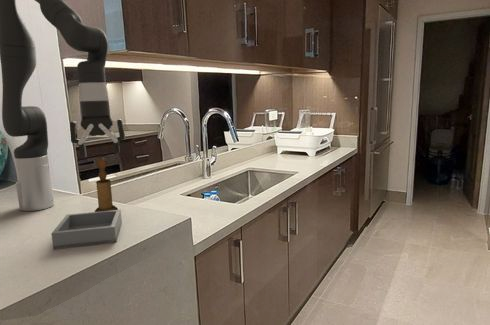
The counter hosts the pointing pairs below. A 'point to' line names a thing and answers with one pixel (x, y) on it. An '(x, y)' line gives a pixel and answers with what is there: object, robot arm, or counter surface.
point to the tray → (87, 229)
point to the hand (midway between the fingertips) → (100, 156)
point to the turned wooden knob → (104, 188)
